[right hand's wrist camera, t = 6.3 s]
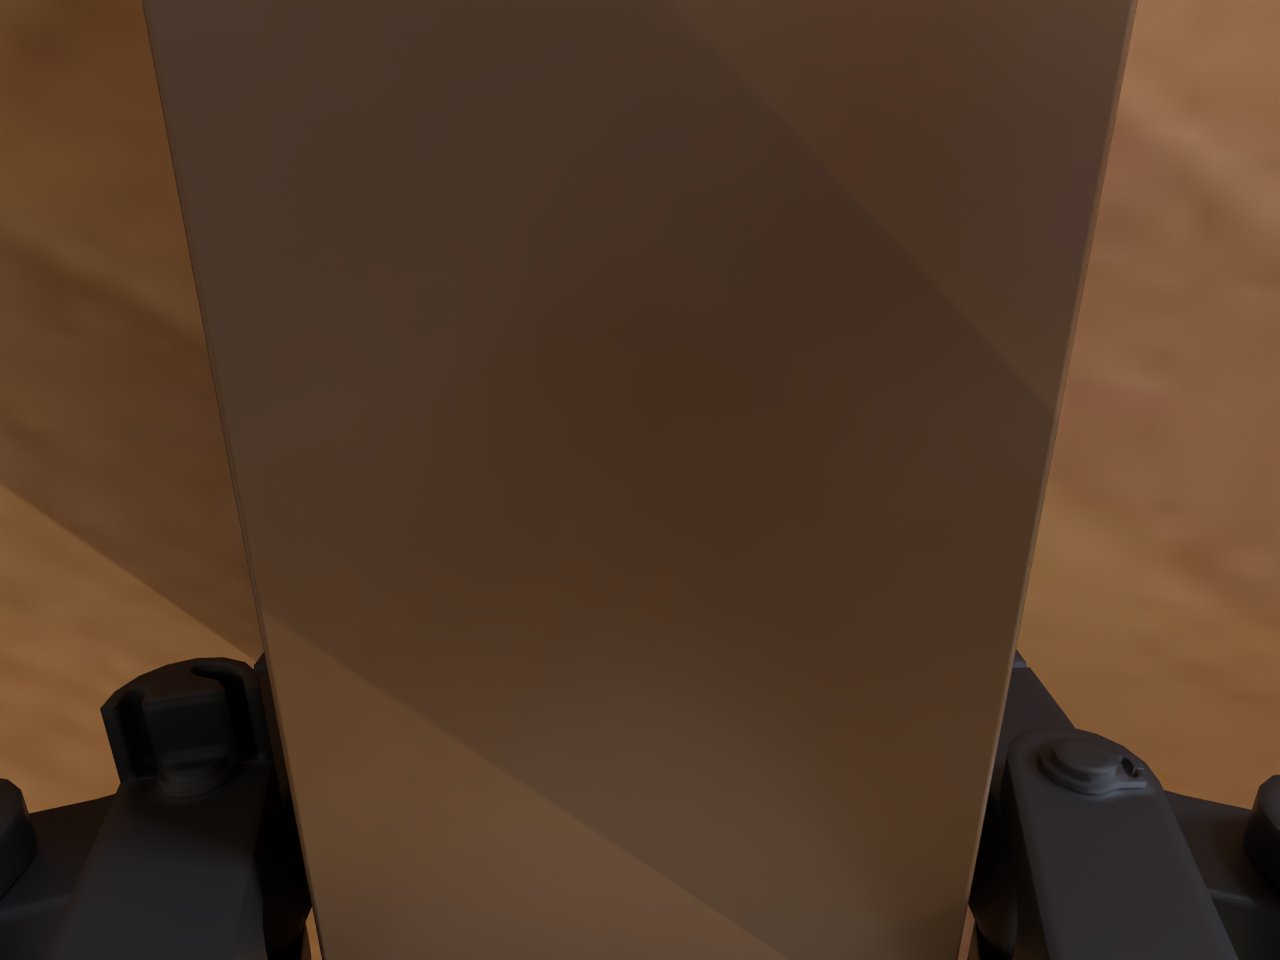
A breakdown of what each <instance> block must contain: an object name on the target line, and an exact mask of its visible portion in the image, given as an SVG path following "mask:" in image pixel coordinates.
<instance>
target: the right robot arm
mask: <svg viewBox="0 0 1280 960" xmlns="http://www.w3.org/2000/svg"><path fill="white" fill-rule="evenodd" d="M100 710H101V714H102V718H103V721H104V725H105V728H106V732H107V735H108V739H109V743H110V746H111V750H112V753H113V757H114V761H115V764H116V768H117V771H118V775H119V779H120V782H121V783H120V785H119V788H118V790H117V792H116V794H113V795H110V796H106V797H102V798H99V799H95V800H90V801H86V802H81V803H76V804H72V805H67V806H62V807H58V808H53V809H48V810H44V811H39V812H34V813H30V814H29V813H28V810H27V807H26V803H25V800H24V797H23V794H22V791H21V790H20V789H19V788H18V787H17V786H15V785H14V784H13V783H12V782H10V781H9V780H8V779H1V778H0V960H311V951H310V944H309V937H308V932H307V927H306V919H307V917H308V915H309V912H310V910H311V908H312V903H311V897H310V892H309V887H308V881H307V876H306V871H305V865H304V860H303V855H302V849H301V844H300V839H299V834H298V828H297V823H296V818H295V812H294V807H293V802H292V796H291V791H290V786H289V780H288V775H287V770H286V764H285V759H284V754H283V748H282V743H281V738H280V732H279V727H278V722H277V716H276V711H275V706H274V700H273V695H272V690H271V684H270V679H269V674H268V668H267V663H266V658H265V652H264V653H263V654H262V656H261V657H260V658H259V660H258V661H257V662H256V664H255V665H254V669H253V668H251V667H250V666H249V665H248V664H246V663H245V662H242V661H238V660H233V659H229V658H225V657H218V658H195V659H191V660H186V661H182V662H177V663H173V664H168V665H165V666H163V667H160V668H158V669H155V670H153V671H150V672H148V673H145V674H143V675H140V676H138V677H137V678H135V679H134V680H132V681H130V682H129V683H127V684H126V685H124V686H123V687H121V688H120V689H118V690H117V691H115V692H114V693H113V694H112V696H111V697H110V698H109V699H108V700H107V701H106V702H105V704H104V705H103V706H102V707H101V708H100ZM968 904H969V907H970V909H971V911H972V914H973V916H974V918H975V922H974V927H973V932H972V937H971V942H970V948H969V953H968V958H967V960H1280V775H1274V776H1272V777H1270V778H1269V779H1268V780H1267V781H1265V782H1264V783H1263V784H1262V785H1260V787H1259V790H1258V793H1257V796H1256V799H1255V802H1254V805H1253V808H1252V810H1249V809H1245V808H1240V807H1235V806H1231V805H1226V804H1221V803H1216V802H1212V801H1207V800H1202V799H1198V798H1193V797H1188V796H1184V795H1180V794H1176V793H1173V792H1169V791H1166V790H1163V788H1162V786H1161V784H1160V782H1159V780H1158V779H1157V778H1156V776H1155V775H1154V774H1153V772H1152V771H1151V769H1150V768H1149V767H1148V765H1147V764H1146V763H1145V762H1144V761H1142V760H1141V759H1140V758H1138V757H1137V756H1136V755H1134V754H1133V753H1132V752H1130V751H1129V750H1128V749H1126V748H1125V747H1124V746H1122V745H1119V744H1117V743H1115V742H1113V741H1111V740H1109V739H1106V738H1104V737H1102V736H1100V735H1098V734H1095V733H1091V732H1087V731H1083V730H1079V729H1076V728H1075V727H1074V726H1073V724H1072V723H1071V722H1070V720H1069V719H1068V718H1067V716H1066V715H1065V714H1064V712H1063V711H1062V710H1061V708H1060V707H1059V706H1058V704H1057V703H1056V702H1055V700H1054V699H1053V698H1052V696H1051V695H1050V694H1049V692H1048V691H1047V690H1046V688H1045V687H1044V686H1043V684H1042V683H1041V682H1040V680H1039V679H1038V678H1037V676H1036V675H1035V674H1034V672H1033V671H1032V670H1031V668H1027V667H1026V662H1025V660H1024V659H1023V658H1022V656H1021V655H1020V654H1019V652H1018V651H1017V650H1015V656H1014V661H1013V666H1012V672H1011V677H1010V682H1009V688H1008V693H1007V698H1006V704H1005V709H1004V714H1003V720H1002V725H1001V730H1000V736H999V741H998V746H997V751H996V757H995V762H994V767H993V773H992V778H991V783H990V789H989V794H988V799H987V805H986V810H985V815H984V821H983V826H982V831H981V837H980V842H979V847H978V853H977V858H976V863H975V869H974V874H973V879H972V884H971V890H970V895H969V900H968Z"/></svg>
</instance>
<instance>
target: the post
mask: <svg viewBox="0 0 1280 960" xmlns="http://www.w3.org/2000/svg"><path fill="white" fill-rule="evenodd" d="M1137 1H1138V0H142V3H143V8H144V14H145V19H146V24H147V30H148V35H149V40H150V46H151V51H152V56H153V62H154V67H155V72H156V78H157V83H158V88H159V93H160V99H161V104H162V109H163V115H164V120H165V125H166V131H167V136H168V141H169V147H170V152H171V157H172V163H173V168H174V173H175V179H176V184H177V189H178V195H179V200H180V205H181V211H182V216H183V221H184V227H185V232H186V237H187V243H188V248H189V253H190V259H191V264H192V269H193V274H194V280H195V285H196V290H197V296H198V301H199V306H200V312H201V317H202V322H203V328H204V333H205V338H206V344H207V349H208V354H209V360H210V365H211V370H212V376H213V381H214V386H215V392H216V397H217V402H218V408H219V413H220V418H221V424H222V429H223V434H224V440H225V445H226V450H227V455H228V461H229V466H230V471H231V477H232V482H233V487H234V493H235V498H236V503H237V509H238V514H239V519H240V525H241V530H242V535H243V541H244V546H245V551H246V557H247V562H248V567H249V573H250V578H251V583H252V589H253V594H254V599H255V605H256V610H257V615H258V621H259V626H260V631H261V637H262V642H263V647H264V652H265V658H266V663H267V668H268V674H269V679H270V684H271V690H272V695H273V700H274V706H275V711H276V716H277V722H278V727H279V732H280V738H281V743H282V748H283V754H284V759H285V764H286V770H287V775H288V780H289V786H290V791H291V796H292V802H293V807H294V812H295V818H296V823H297V828H298V834H299V839H300V844H301V849H302V855H303V860H304V865H305V871H306V876H307V881H308V887H309V892H310V897H311V903H312V908H313V913H314V919H315V924H316V929H317V935H318V940H319V945H320V951H321V956H322V960H957V959H958V954H959V948H960V943H961V938H962V932H963V927H964V922H965V916H966V911H967V906H968V900H969V895H970V890H971V884H972V879H973V874H974V869H975V863H976V858H977V853H978V847H979V842H980V837H981V831H982V826H983V821H984V815H985V810H986V805H987V799H988V794H989V789H990V783H991V778H992V773H993V767H994V762H995V757H996V751H997V746H998V741H999V736H1000V730H1001V725H1002V720H1003V714H1004V709H1005V704H1006V698H1007V693H1008V688H1009V682H1010V677H1011V672H1012V666H1013V661H1014V656H1015V650H1016V645H1017V640H1018V634H1019V629H1020V624H1021V618H1022V613H1023V608H1024V603H1025V597H1026V592H1027V587H1028V581H1029V576H1030V571H1031V565H1032V560H1033V555H1034V549H1035V544H1036V539H1037V533H1038V528H1039V523H1040V517H1041V512H1042V507H1043V501H1044V496H1045V491H1046V485H1047V480H1048V475H1049V470H1050V464H1051V459H1052V454H1053V448H1054V443H1055V438H1056V432H1057V427H1058V422H1059V416H1060V411H1061V406H1062V400H1063V395H1064V390H1065V384H1066V379H1067V374H1068V368H1069V363H1070V358H1071V352H1072V347H1073V342H1074V337H1075V331H1076V326H1077V321H1078V315H1079V310H1080V305H1081V299H1082V294H1083V289H1084V283H1085V278H1086V273H1087V267H1088V262H1089V257H1090V251H1091V246H1092V241H1093V235H1094V230H1095V225H1096V220H1097V214H1098V209H1099V204H1100V198H1101V193H1102V188H1103V182H1104V177H1105V172H1106V166H1107V161H1108V156H1109V150H1110V145H1111V140H1112V134H1113V129H1114V124H1115V118H1116V113H1117V108H1118V102H1119V97H1120V92H1121V87H1122V81H1123V76H1124V71H1125V65H1126V60H1127V55H1128V49H1129V44H1130V39H1131V33H1132V28H1133V23H1134V17H1135V12H1136V7H1137Z"/></svg>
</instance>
